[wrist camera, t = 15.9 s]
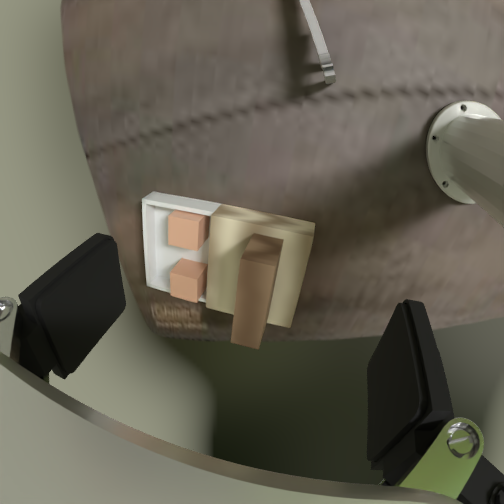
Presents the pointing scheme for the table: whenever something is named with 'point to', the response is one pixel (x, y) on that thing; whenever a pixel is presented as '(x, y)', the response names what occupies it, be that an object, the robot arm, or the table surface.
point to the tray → (156, 237)
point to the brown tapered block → (255, 289)
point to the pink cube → (187, 229)
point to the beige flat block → (233, 246)
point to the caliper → (318, 42)
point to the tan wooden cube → (188, 280)
